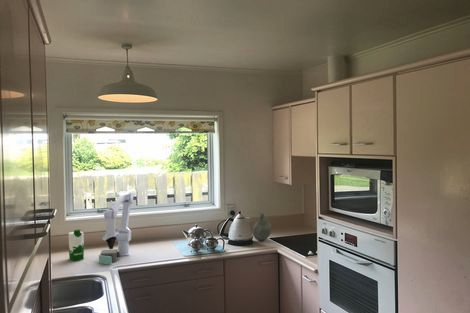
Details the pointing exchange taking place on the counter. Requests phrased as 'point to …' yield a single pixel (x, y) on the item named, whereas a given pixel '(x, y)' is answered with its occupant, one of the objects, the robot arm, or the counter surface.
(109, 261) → the side door
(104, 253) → the camera body
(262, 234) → the flask
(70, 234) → the milk carton
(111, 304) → the counter surface
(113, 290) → the counter surface
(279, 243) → the counter surface
